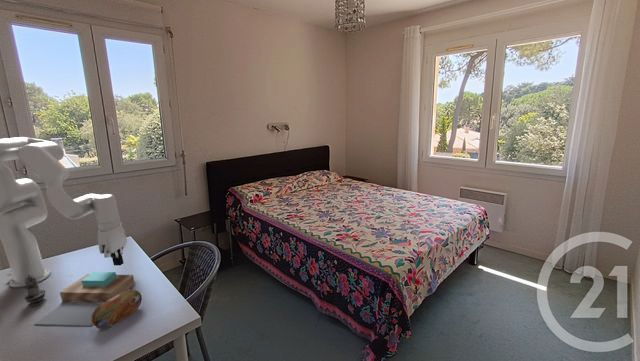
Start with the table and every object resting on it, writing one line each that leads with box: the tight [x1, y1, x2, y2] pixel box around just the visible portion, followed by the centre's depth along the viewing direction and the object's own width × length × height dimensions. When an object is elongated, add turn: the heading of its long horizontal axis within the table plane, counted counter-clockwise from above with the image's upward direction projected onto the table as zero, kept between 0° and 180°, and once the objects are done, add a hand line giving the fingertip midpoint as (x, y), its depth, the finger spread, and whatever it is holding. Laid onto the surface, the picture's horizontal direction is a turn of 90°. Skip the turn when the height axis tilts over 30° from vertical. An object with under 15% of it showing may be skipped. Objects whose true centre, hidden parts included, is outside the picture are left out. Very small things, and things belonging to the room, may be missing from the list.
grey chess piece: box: [23, 275, 48, 309], centre depth 106 cm, size 6×6×12 cm
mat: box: [34, 302, 103, 327], centre depth 101 cm, size 20×11×1 cm, turn 86°
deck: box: [59, 274, 136, 303], centre depth 113 cm, size 20×12×4 cm, turn 86°
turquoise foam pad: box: [82, 271, 117, 286], centre depth 113 cm, size 9×6×2 cm, turn 86°
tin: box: [92, 289, 143, 330], centre depth 98 cm, size 15×3×8 cm, turn 154°
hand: (118, 264), depth 123 cm, fingers closed
